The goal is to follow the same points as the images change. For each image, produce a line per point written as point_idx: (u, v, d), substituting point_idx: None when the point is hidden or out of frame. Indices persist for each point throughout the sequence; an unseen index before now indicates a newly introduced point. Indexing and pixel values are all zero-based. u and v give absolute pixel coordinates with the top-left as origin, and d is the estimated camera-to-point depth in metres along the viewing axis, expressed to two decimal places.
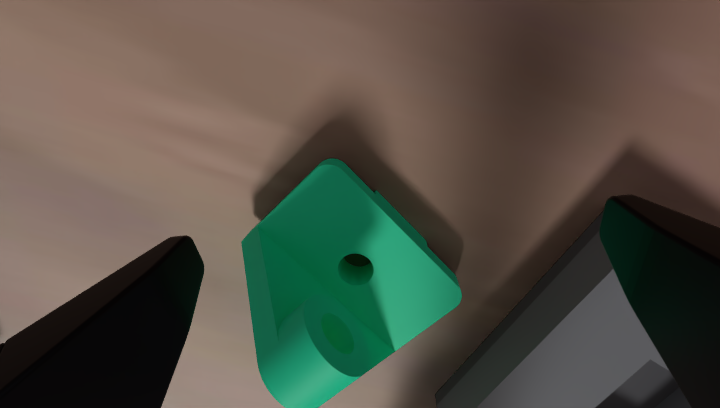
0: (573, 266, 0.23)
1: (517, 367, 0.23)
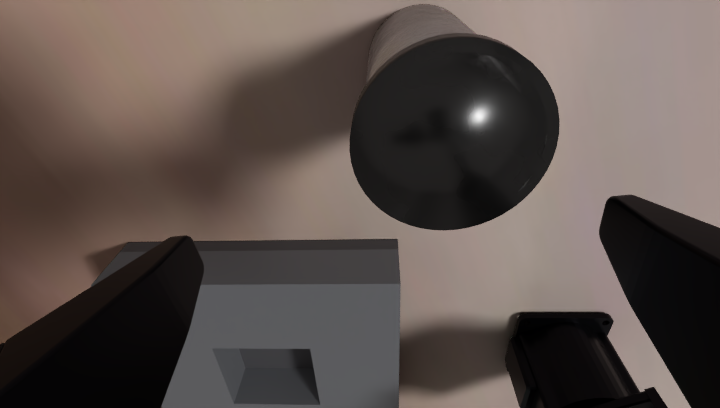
0: None
1: None
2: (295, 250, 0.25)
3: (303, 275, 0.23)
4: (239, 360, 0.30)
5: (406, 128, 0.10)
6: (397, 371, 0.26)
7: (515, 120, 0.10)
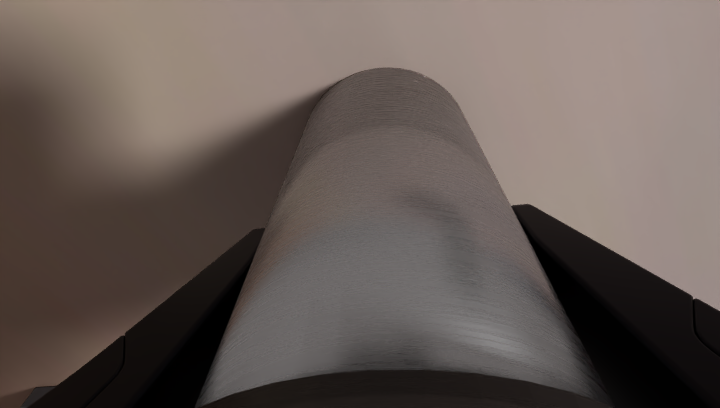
0: None
1: None
2: None
3: None
4: None
5: None
6: None
7: None
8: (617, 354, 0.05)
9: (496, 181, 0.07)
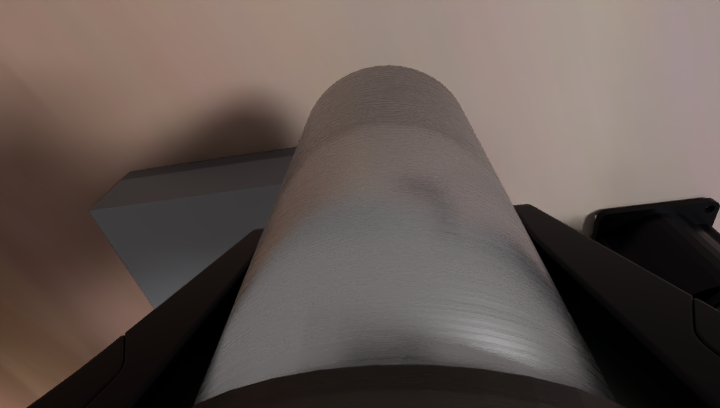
0: None
1: None
2: None
3: None
4: None
5: None
6: None
7: None
8: (617, 354, 0.05)
9: (497, 178, 0.07)
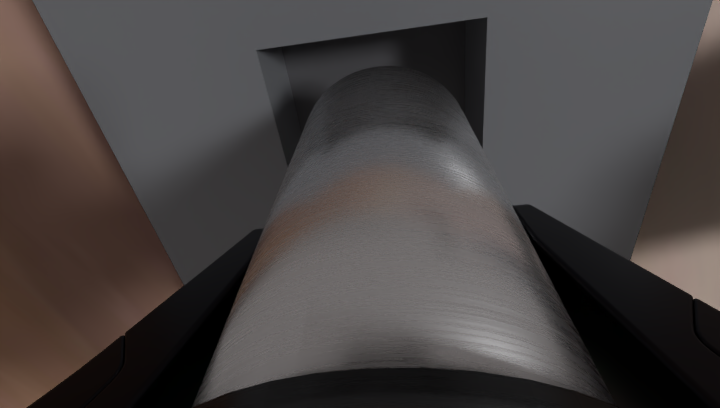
0: None
1: None
2: None
3: None
4: None
5: None
6: (684, 76, 0.11)
7: None
8: (617, 354, 0.05)
9: (496, 179, 0.07)
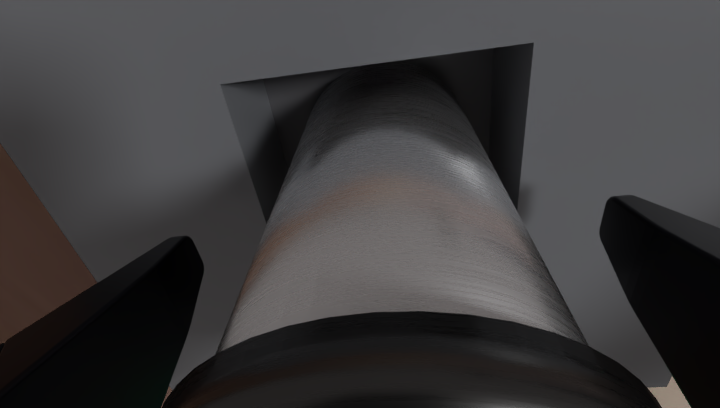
0: None
1: None
2: None
3: None
4: None
5: None
6: None
7: None
8: None
9: (492, 166, 0.07)
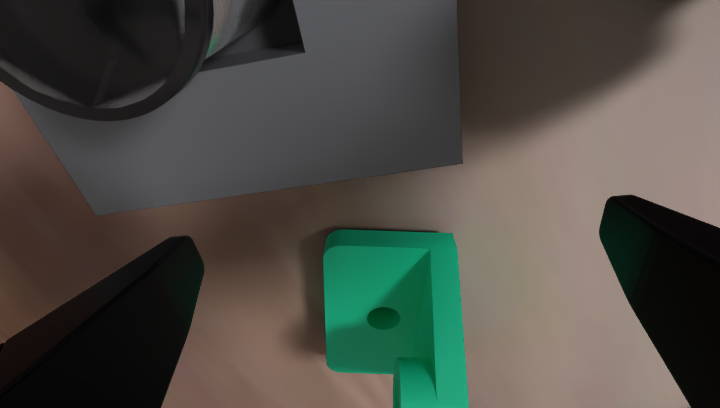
0: None
1: (298, 186, 0.18)
2: None
3: None
4: None
5: None
6: None
7: None
8: None
9: None
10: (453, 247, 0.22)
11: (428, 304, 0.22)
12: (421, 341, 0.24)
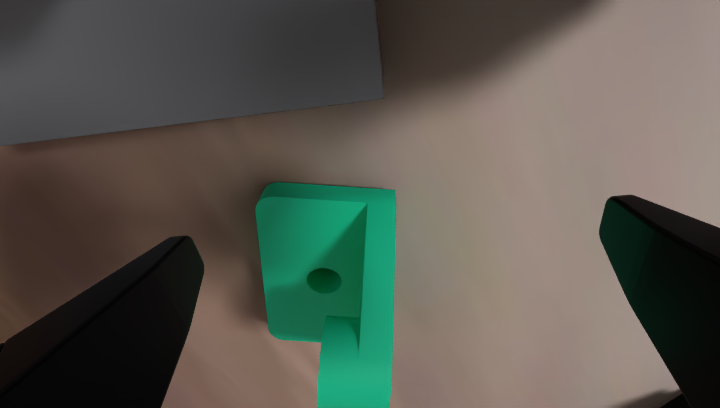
0: None
1: (209, 119, 0.17)
2: None
3: None
4: None
5: None
6: None
7: None
8: None
9: None
10: (392, 202, 0.21)
11: None
12: None
